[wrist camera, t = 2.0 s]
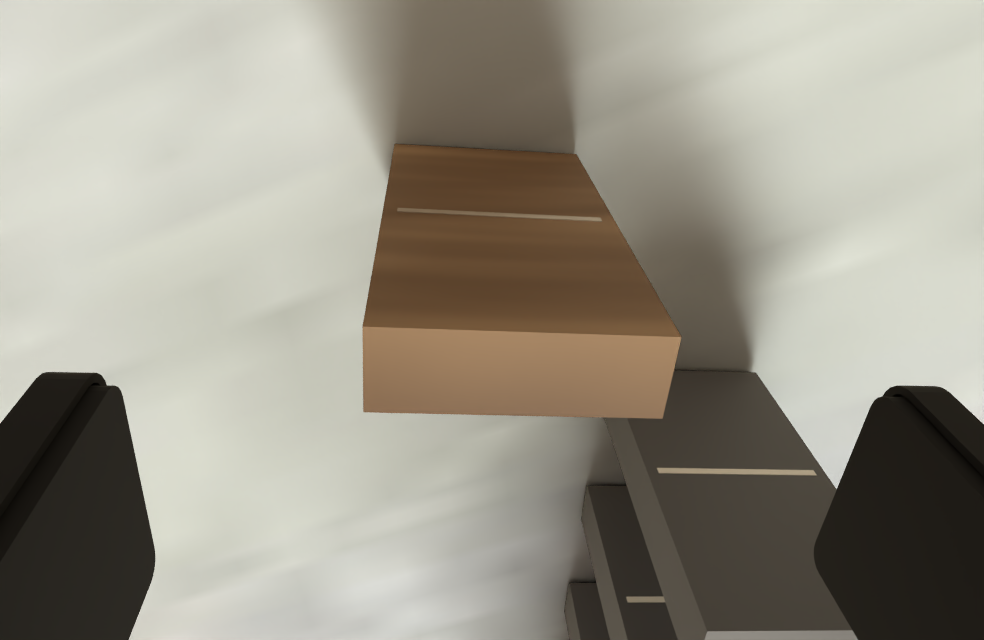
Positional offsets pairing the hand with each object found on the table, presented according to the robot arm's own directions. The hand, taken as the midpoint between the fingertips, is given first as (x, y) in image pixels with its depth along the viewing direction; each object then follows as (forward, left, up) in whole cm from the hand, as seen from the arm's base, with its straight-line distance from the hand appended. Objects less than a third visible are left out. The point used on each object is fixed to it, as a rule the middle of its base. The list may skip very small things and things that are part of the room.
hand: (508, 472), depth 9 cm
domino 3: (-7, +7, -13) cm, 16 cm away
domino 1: (0, 0, -13) cm, 13 cm away
